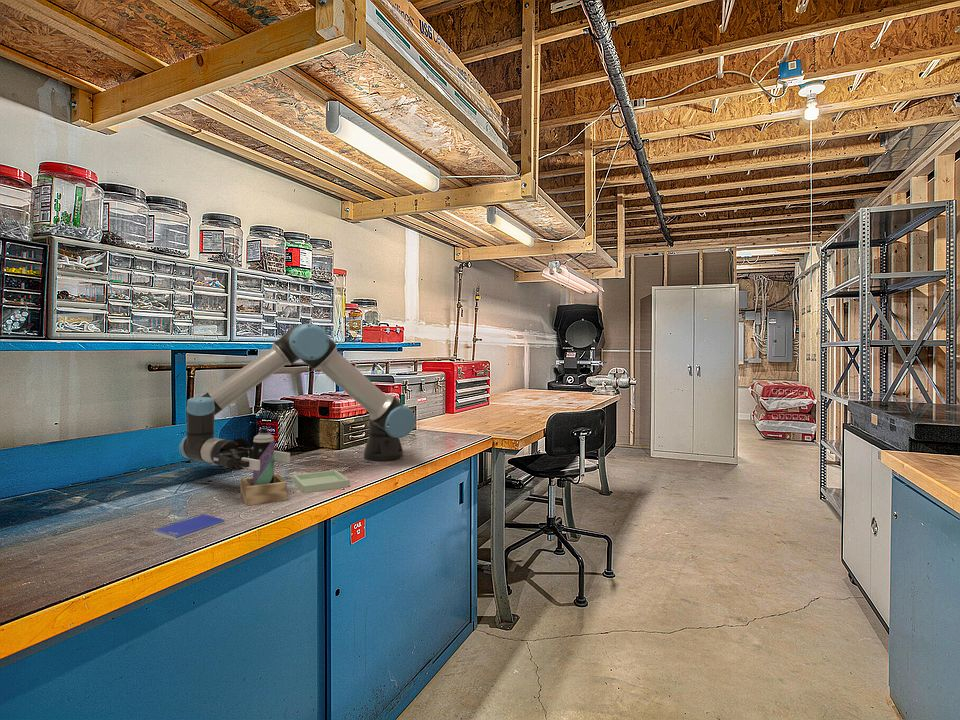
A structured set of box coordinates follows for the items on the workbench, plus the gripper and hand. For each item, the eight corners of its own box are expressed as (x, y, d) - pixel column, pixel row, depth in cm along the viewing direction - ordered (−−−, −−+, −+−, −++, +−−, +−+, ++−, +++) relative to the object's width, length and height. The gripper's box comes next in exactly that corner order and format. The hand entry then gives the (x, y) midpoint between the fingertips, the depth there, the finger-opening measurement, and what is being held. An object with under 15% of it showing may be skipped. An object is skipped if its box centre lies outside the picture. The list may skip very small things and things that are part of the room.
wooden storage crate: (278, 490, 152) (278, 474, 151) (286, 500, 143) (286, 482, 143) (240, 495, 146) (240, 478, 146) (246, 505, 137) (246, 487, 137)
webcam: (256, 464, 182) (257, 437, 181) (240, 469, 175) (240, 440, 174) (239, 462, 184) (240, 435, 184) (223, 467, 177) (223, 438, 177)
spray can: (249, 497, 144) (250, 427, 144) (269, 493, 148) (269, 426, 148) (257, 502, 141) (257, 430, 140) (276, 498, 144) (277, 428, 144)
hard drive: (176, 536, 113) (225, 519, 124) (153, 529, 116) (202, 513, 128) (176, 543, 113) (224, 525, 124) (153, 536, 116) (202, 519, 128)
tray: (335, 476, 169) (335, 469, 169) (349, 486, 157) (349, 479, 157) (292, 481, 161) (292, 475, 161) (303, 493, 150) (303, 486, 150)
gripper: (252, 457, 162) (304, 466, 152) (185, 472, 142) (239, 484, 132) (253, 434, 162) (304, 441, 152) (185, 446, 142) (240, 456, 132)
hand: (274, 461), depth 142 cm, fingers open, 10 cm apart
